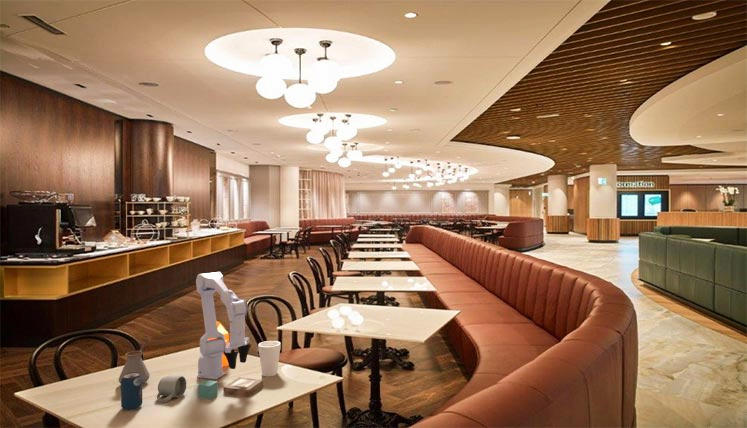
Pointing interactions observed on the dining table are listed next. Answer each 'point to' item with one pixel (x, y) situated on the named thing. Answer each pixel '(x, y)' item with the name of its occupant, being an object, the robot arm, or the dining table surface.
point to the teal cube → (207, 389)
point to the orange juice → (226, 336)
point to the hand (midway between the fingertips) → (237, 365)
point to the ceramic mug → (171, 387)
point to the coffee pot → (136, 364)
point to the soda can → (131, 391)
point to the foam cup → (269, 357)
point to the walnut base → (243, 387)
